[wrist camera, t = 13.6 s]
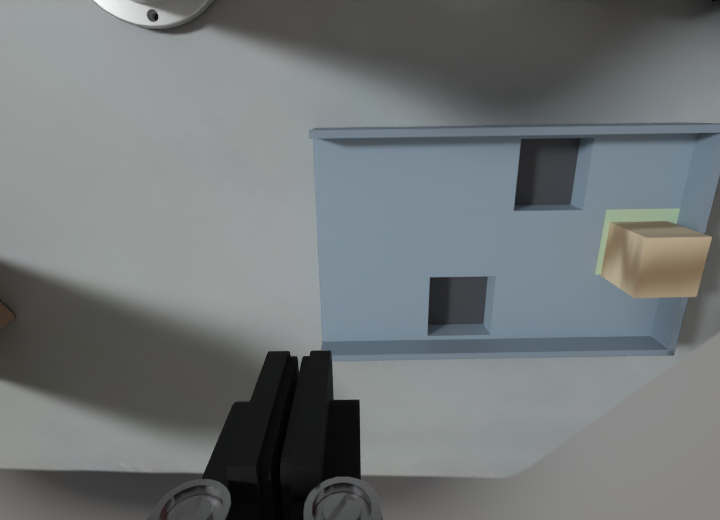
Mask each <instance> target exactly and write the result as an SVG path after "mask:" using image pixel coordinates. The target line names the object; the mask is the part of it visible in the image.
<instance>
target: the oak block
mask: <svg viewBox="0 0 720 520" xmlns="http://www.w3.org/2000/svg"><path fill="white" fill-rule="evenodd" d="M711 239H712V237H711V236H709V235H706V234H703V233H700V232H697V231H694V230H691V229H688V228H686V227H683V226H680V225H677V224H674V223H671V222H668V221H646V222H610V225H609V231H608V237H607V242H606V248H605V254H604V259H603V265H602V271H601V276H602V277H603V278H605V279H606V280H608V281H609V282H611V283H612V284H614V285H615V286H617V287H618V288H620V289H621V290H623V291H624V292H626V293H627V294H629V295H630V296H632V297H633V298H669V297H697V294H698V290H699V286H700V282H701V278H702V274H703V270H704V266H705V263H706V259H707V255H708V251H709V247H710V243H711Z"/></svg>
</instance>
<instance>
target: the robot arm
mask: <svg viewBox="0 0 720 520" xmlns="http://www.w3.org/2000/svg"><path fill="white" fill-rule="evenodd" d="M92 1H93V2H94V3H96V4H97V5H98V6H99V7H100V8H102V9H103V10H104V11H106V12H107V13H109V14H111V15H113V16H114V17H116V18H118V19H120V20H122V21H124V22H127V23H129V24H132V25H136V26H140V27H144V28H148V29H167V28H172V27H178V26H180V25H183V24H185V23H187V22H190V21H192V20H193V19H195V18H196V17H197V16H199V15H200V14H201V13H203V12H204V11H205V10H206V9H207V8H208V6H209V5H210V4H211V3H212V2H213V1H214V0H92ZM157 14H158V20H157V21H156V20H155V16H156V15H157ZM147 520H383V516H382V512H381V507H380V503H379V500H378V498H377V496H376V493H375V491H374V490H373V489H372V488H371V487H370V486H369V485H368V484H366V483H365V482H363V481H361V469H360V405H359V400H333V375H332V353H331V350H327V351H311V352H310V356H303V358H302V362H301V367H300V371H299V369H298V358H297V356H293V357H291V355H290V352H289V351H269V352H268V353H267V356H266V359H265V362H264V364H263V367H262V370H261V373H260V375H259V378H258V381H257V383H256V386H255V389H254V392H253V394H252V397H251V400H250V402H235V403H234V404H233V406H232V408H231V410H230V413H229V415H228V417H227V420H226V422H225V424H224V427H223V429H222V432H221V434H220V436H219V439H218V441H217V443H216V446H215V448H214V451H213V453H212V455H211V458H210V460H209V463H208V465H207V467H206V470H205V472H204V474H203V477H202V479H199V480H194V481H190V482H186V483H184V484H182V485H180V486H178V487H176V488H174V489H173V490H172V491H170V492H169V493H168V494H166V495H165V496H164V497H163V498H162V500H161V501H160V502H159V503H158V504H157V505H156V507H155V508H154V510H153V511H152V512H151V514H150V515H149V517H148V518H147Z"/></svg>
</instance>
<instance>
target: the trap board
mask: <svg viewBox="0 0 720 520" xmlns="http://www.w3.org/2000/svg"><path fill="white" fill-rule="evenodd" d="M309 136H310V139H313V152H314V173H315V194H316V216H317V237H318V258H319V279H320V299H321V321H322V349H321V351H327V350H331V353H332V361H378V360H436V359H494V358H551V357H609V356H667V355H674V353H675V349H676V345H677V341H678V337H679V333H680V329H681V325H682V321H683V317H684V313H685V310H686V306H687V302H688V298H689V297H669V298H633V297H632V296H630V295H629V294H627V293H626V292H624V291H623V290H621V289H620V288H618V287H617V286H615V285H614V284H612V283H611V282H609V281H608V280H606V279H605V278H603V277H602V276H601V271H602V265H603V259H604V254H605V248H606V242H607V237H608V231H609V225H610V222H646V221H668V222H671V223H674V224H677V225H680V226H683V227H686V228H688V229H691V230H694V231H697V232H700V233H703V234H705V231H706V227H707V223H708V219H709V215H710V212H711V208H712V204H713V200H714V196H715V192H716V188H717V184H718V180H719V176H720V124H712V123H628V124H560V125H492V126H423V127H355V128H314V129H311V130H309Z"/></svg>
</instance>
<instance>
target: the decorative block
mask: <svg viewBox="0 0 720 520" xmlns="http://www.w3.org/2000/svg"><path fill="white" fill-rule="evenodd" d="M15 317H16V316H15V314H14V313H12V312H11V311H10V310H9V309H8V308H7V307H6V306H5V305H4V304H3V303H2V302H1V301H0V329H2V328H3V327H4V326H6V325H7V324H9V323H10V322H11V321H13V320H14V319H15Z"/></svg>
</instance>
